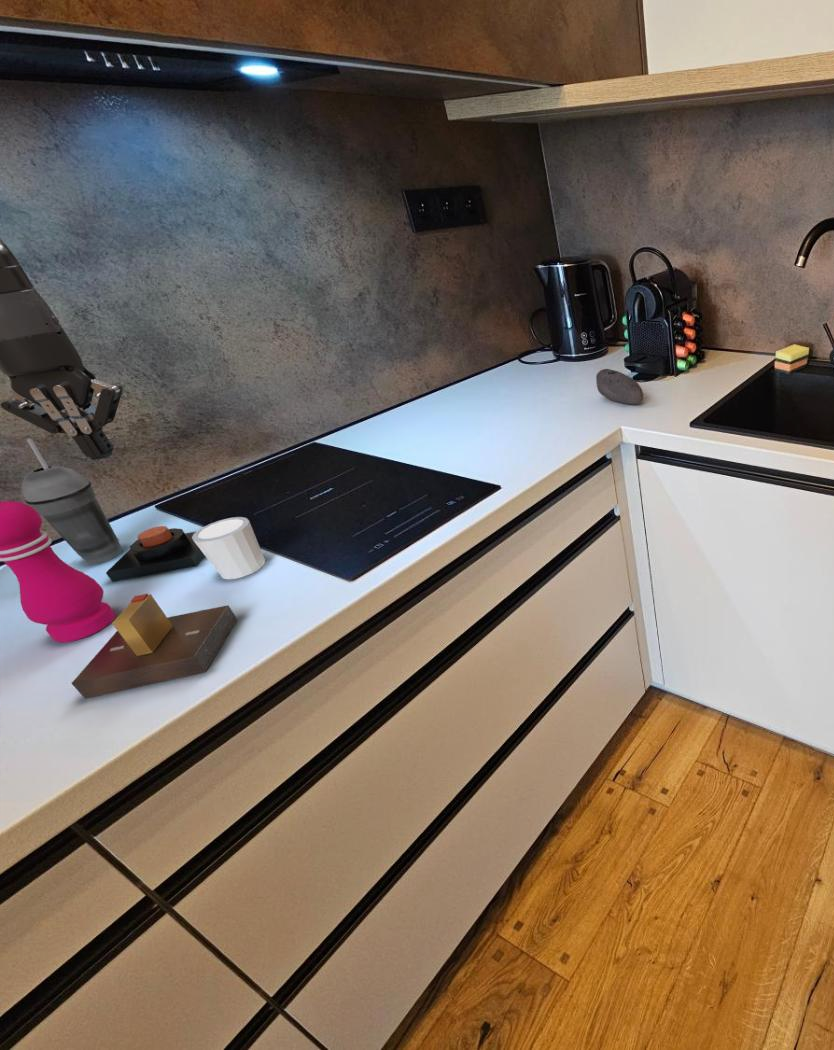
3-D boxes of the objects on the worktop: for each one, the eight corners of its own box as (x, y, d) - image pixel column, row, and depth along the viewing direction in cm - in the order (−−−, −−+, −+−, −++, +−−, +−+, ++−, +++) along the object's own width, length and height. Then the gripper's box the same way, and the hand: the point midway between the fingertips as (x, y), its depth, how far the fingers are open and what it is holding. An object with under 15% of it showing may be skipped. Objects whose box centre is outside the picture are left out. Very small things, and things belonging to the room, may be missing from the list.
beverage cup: (104, 544, 96) (24, 430, 86) (145, 542, 96) (69, 428, 86) (61, 570, 90) (-31, 451, 80) (105, 568, 90) (18, 448, 79)
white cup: (215, 588, 83) (190, 547, 79) (215, 567, 88) (191, 527, 84) (271, 569, 86) (249, 529, 83) (268, 550, 91) (247, 511, 88)
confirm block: (112, 582, 86) (97, 562, 84) (143, 550, 94) (130, 532, 92) (196, 566, 89) (184, 547, 87) (220, 536, 96) (210, 518, 94)
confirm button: (138, 550, 88) (132, 540, 87) (150, 538, 91) (144, 528, 90) (166, 545, 88) (160, 535, 88) (177, 533, 91) (171, 524, 90)
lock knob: (152, 652, 68) (127, 618, 65) (136, 656, 67) (110, 621, 65) (173, 626, 72) (149, 592, 69) (158, 629, 72) (134, 595, 69)
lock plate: (84, 699, 66) (69, 682, 64) (131, 641, 74) (119, 625, 73) (205, 672, 68) (193, 655, 67) (237, 619, 76) (228, 603, 75)
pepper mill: (51, 626, 78) (-59, 494, 67) (121, 602, 82) (27, 473, 71) (45, 654, 73) (-75, 515, 63) (119, 627, 77) (18, 492, 66)
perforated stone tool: (651, 405, 137) (648, 376, 134) (634, 411, 134) (630, 382, 131) (613, 393, 147) (609, 365, 143) (596, 398, 144) (592, 370, 140)
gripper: (-69, 345, 69) (29, 476, 78) (63, 329, 71) (143, 459, 80) (-21, 332, 75) (64, 455, 84) (99, 318, 78) (169, 439, 86)
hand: (103, 457), depth 82 cm, fingers closed
